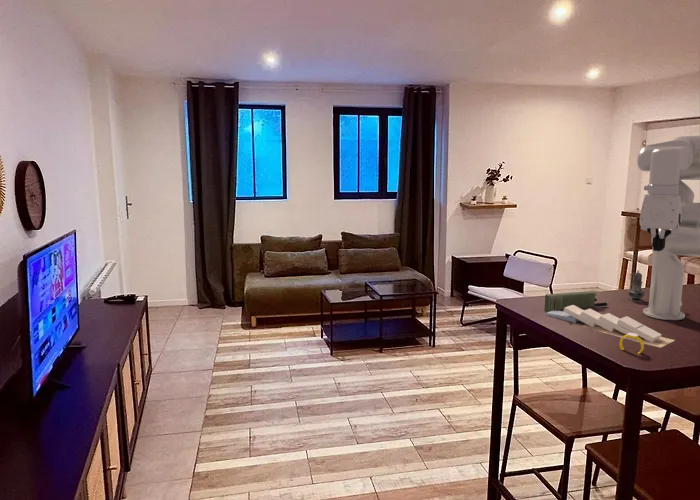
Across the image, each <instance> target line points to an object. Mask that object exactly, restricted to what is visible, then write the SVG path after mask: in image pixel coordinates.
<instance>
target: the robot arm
mask: <svg viewBox="0 0 700 500" xmlns="http://www.w3.org/2000/svg"><path fill="white" fill-rule="evenodd" d="M636 160H637V167H638V169H639V170H640V171H642V172H649V178H648V179H649V181H648V184H647V185H644V186H643V190H644V191H647V194H644V197H643V201H642V204H641V208H640V215H639V226H640V230H642V231H645V232H647V233H648V234H649V235H650V236H651V247H652V249H651V250H652V251H651V252H652V260H651V261H652V263H651V275H650V286H649V297H648V298H649V300H648V306H647V307H645V308H643V309H642V313H643V314H644V315H646V316H647V317H650V318H654V319H657V320H664V321H680V320H684V319H685V318H686V314H685V313H684V312H683V311H681V307H682V306H683V302H682V295H683V287H684V286H683V285H684V277H685V276H684V275H685V266H684V264H683V261H681V260H680V259H679V257H678V256H687V257H698V258H699V257H700V202H695V201H694V199H695V193H694V191H693V190H692V188H691V187H690V186H689V185H688V184H687V183H685V182H684V180H685V181H687V180H689V181H700V135H685V136H682V135H681V136H678V137H675V138H674V139H672V140H668V141H663V142H658V143H652V144H647V145H645V146H644V147H642V148H641V149H640V151H639V153H638V154H637V159H636Z"/></svg>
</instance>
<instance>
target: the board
mask: <svg viewBox="0 0 700 500" xmlns="http://www.w3.org/2000/svg"><path fill="white" fill-rule="evenodd" d="M570 325H573V326H576V327H580V328H583V329H588V330H591V331H595V332H598V333H602V334H603V333H604V334H607V335H610V336H614V337H618V338H620V339H621V338H622V337H623V336H625V335H626V334H624V333H622V332H620V331H618V330H616V331H613V332H610V331H608V330H606V329H605V328H603V327H601V326H599V325H598V326H595V327H591V326H589V325H588V324H586V323H584V322H582V321H579V322H576V323H575V322H571V323H570ZM638 337H639V338H641V340H642V341H643V344H644V345H648V346H651V347H654V348H658V349H662V348H663V347H665V346H667V345H669V344H671V343H673V342H675V341H676V339H672V338H668V337H664V336H661V337H660V339H658V340H656V341H654V342H652V343H651V342H649V341H648V340H646V339H644V338H642V337H640V336H639V335H638ZM624 339H626V340H629V341H633V342H637V343H640V342H639V341H638V340H637V339H636V338H629V337H625V338H624Z"/></svg>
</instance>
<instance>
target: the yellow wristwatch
mask: <svg viewBox="0 0 700 500" xmlns="http://www.w3.org/2000/svg"><path fill="white" fill-rule="evenodd" d="M625 337H629V338H636V339H637V340H638V341H639V342H638V343H639V344H640V349H639V351H638V352H637V354H638V355H640V354H641V353H642V352H643V351H644V348H645V344H644V343H643V341H642V340H641V338H639V337H638V335H637V334H635V333H627V335H625V336H623V337H622V338H621V337H620V340H619V348H620V350H621V351H624V350H625V348H624V345H623V340H624V339H625Z"/></svg>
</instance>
